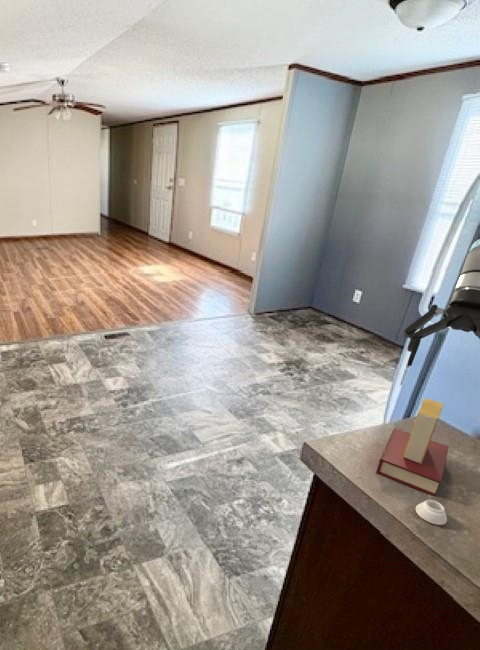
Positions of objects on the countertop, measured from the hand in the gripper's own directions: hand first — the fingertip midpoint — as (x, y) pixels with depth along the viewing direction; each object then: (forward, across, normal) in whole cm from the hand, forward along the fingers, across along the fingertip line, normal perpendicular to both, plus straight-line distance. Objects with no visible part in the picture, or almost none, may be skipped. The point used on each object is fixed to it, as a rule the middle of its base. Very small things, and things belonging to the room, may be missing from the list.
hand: (444, 372), depth 97 cm
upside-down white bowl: (+33, -6, +4) cm, 34 cm away
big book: (+22, 0, -7) cm, 23 cm away
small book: (+19, 0, -4) cm, 20 cm away
